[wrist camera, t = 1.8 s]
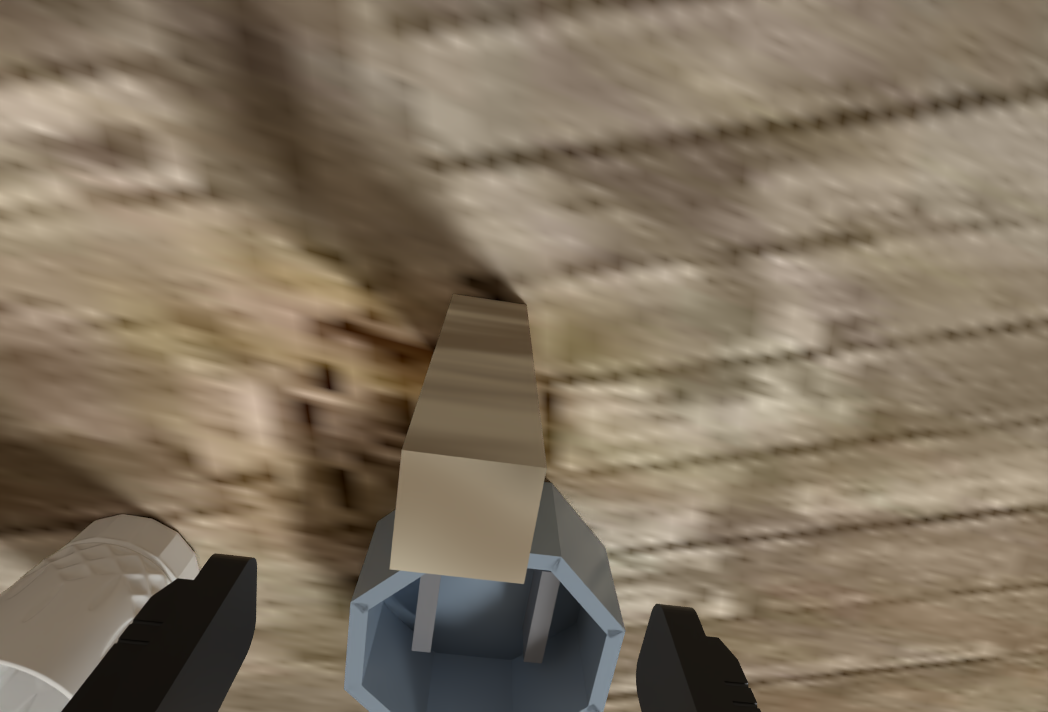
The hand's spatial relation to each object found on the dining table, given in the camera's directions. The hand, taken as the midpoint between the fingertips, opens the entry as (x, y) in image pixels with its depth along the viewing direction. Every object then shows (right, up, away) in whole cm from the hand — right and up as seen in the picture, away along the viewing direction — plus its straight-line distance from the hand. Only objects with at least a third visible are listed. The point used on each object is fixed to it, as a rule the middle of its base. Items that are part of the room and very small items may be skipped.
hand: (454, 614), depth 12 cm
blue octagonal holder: (-1, -7, +22) cm, 23 cm away
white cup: (-20, -6, +21) cm, 30 cm away
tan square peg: (0, +6, +17) cm, 18 cm away
